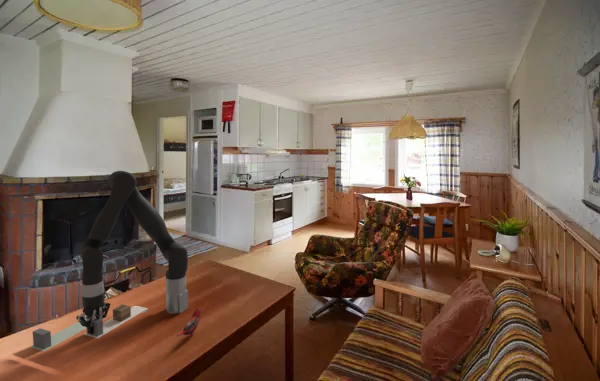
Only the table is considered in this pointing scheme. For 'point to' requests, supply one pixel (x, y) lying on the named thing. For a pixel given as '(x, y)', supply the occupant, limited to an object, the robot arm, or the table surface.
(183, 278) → the robot arm
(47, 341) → the sage strip
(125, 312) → the walnut block
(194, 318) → the decorative bird figurine
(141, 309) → the cream strip
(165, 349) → the table surface
